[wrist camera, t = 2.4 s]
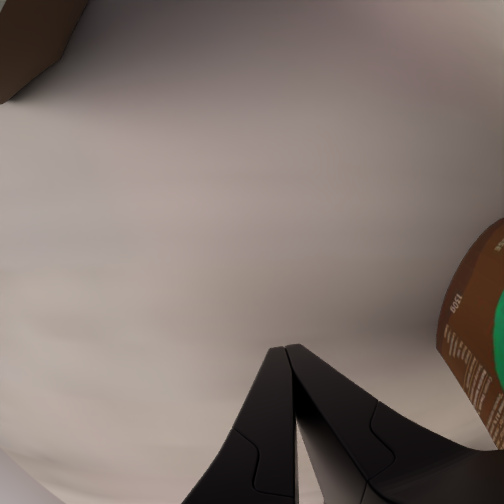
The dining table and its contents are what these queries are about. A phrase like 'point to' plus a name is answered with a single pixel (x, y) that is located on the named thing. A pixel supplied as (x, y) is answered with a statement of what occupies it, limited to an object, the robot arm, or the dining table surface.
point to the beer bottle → (33, 38)
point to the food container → (478, 328)
